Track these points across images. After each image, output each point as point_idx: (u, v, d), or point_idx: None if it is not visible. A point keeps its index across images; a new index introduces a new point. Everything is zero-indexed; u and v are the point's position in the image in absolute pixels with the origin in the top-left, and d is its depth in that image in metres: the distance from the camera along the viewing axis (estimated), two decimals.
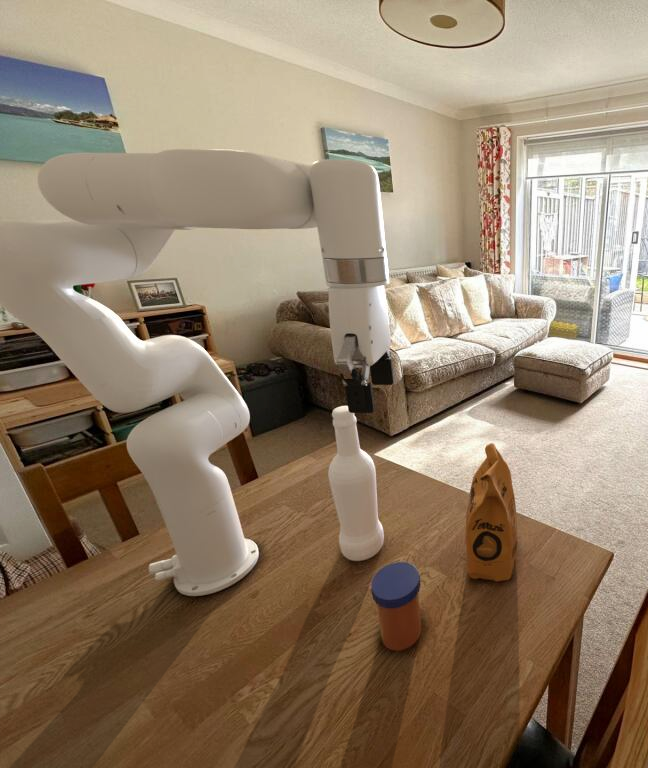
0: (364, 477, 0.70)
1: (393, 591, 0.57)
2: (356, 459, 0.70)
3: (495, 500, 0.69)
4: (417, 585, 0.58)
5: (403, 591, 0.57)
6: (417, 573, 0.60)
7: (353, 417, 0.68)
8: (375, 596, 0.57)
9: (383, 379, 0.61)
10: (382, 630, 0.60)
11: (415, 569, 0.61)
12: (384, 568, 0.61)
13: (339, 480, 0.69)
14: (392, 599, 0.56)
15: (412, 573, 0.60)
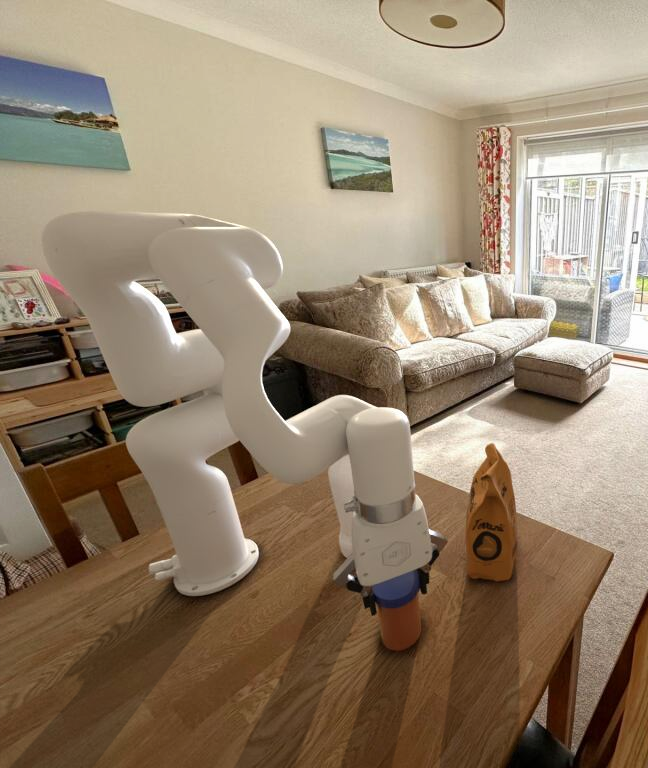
0: None
1: (393, 591, 0.57)
2: None
3: (495, 500, 0.69)
4: (417, 585, 0.58)
5: (403, 591, 0.57)
6: (417, 573, 0.60)
7: None
8: (375, 596, 0.57)
9: None
10: (382, 630, 0.60)
11: (415, 569, 0.61)
12: None
13: (339, 479, 0.69)
14: (392, 599, 0.56)
15: (412, 573, 0.60)
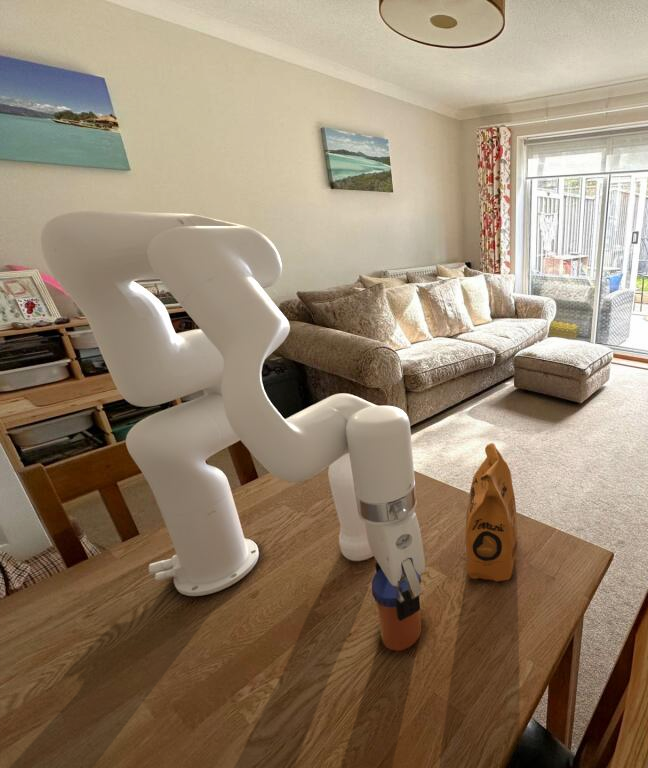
0: None
1: None
2: None
3: (495, 500, 0.69)
4: None
5: None
6: None
7: None
8: None
9: None
10: (382, 630, 0.60)
11: None
12: (379, 593, 0.56)
13: (339, 479, 0.69)
14: None
15: None
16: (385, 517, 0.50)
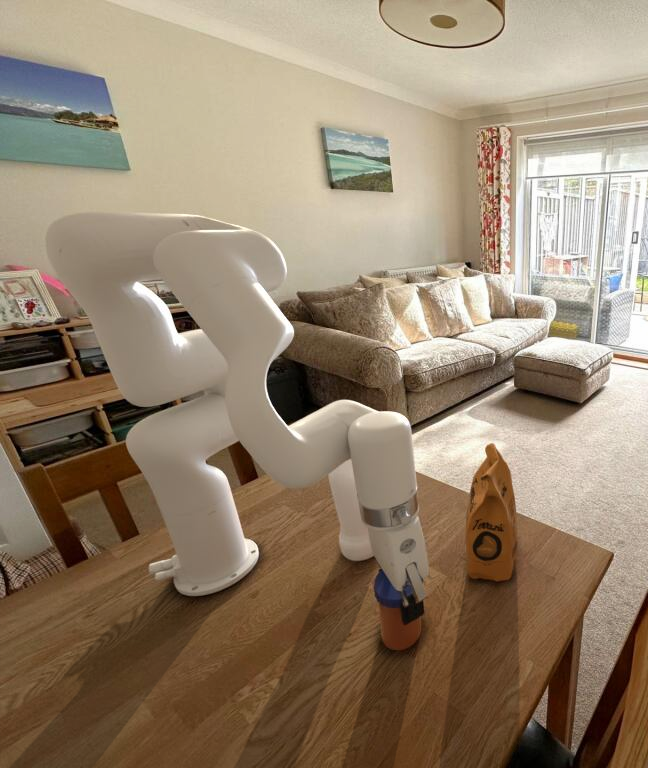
0: None
1: None
2: None
3: (495, 500, 0.69)
4: None
5: None
6: None
7: None
8: None
9: None
10: (383, 630, 0.59)
11: None
12: (382, 594, 0.56)
13: (339, 479, 0.69)
14: None
15: None
16: (388, 522, 0.50)
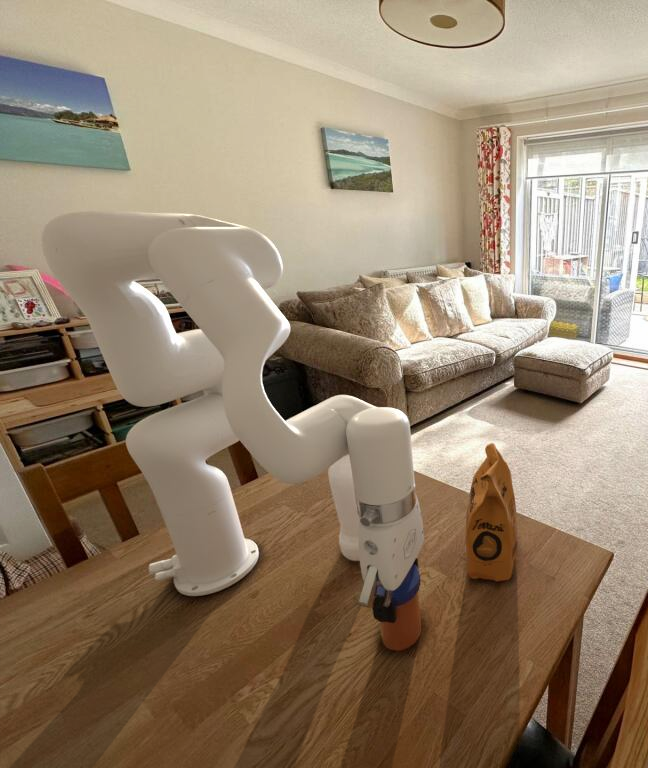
0: None
1: None
2: None
3: (495, 500, 0.69)
4: None
5: None
6: None
7: None
8: None
9: None
10: (382, 630, 0.60)
11: None
12: (395, 595, 0.56)
13: (339, 479, 0.69)
14: None
15: None
16: (362, 515, 0.51)
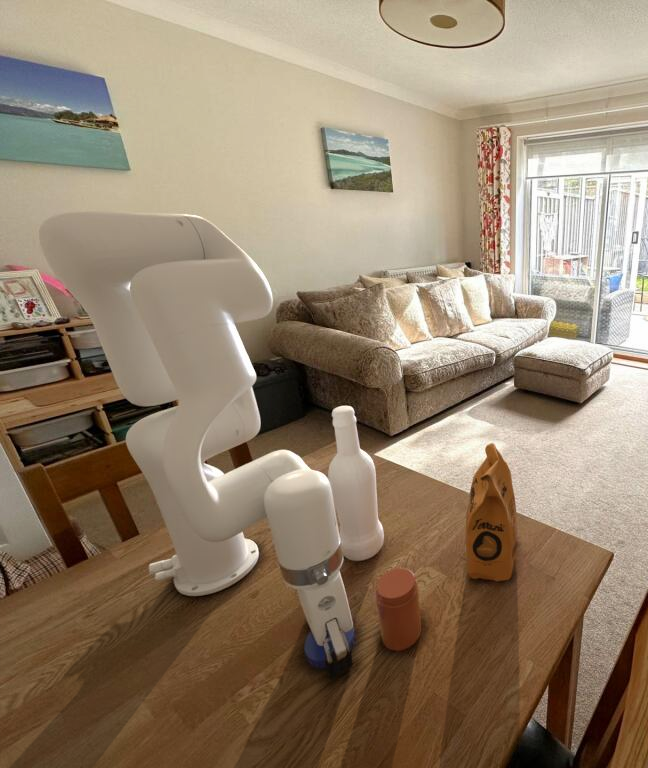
0: (364, 476, 0.70)
1: None
2: (356, 459, 0.70)
3: (495, 500, 0.69)
4: None
5: None
6: (306, 651, 0.58)
7: (353, 417, 0.68)
8: None
9: None
10: (382, 630, 0.60)
11: (309, 655, 0.57)
12: None
13: (339, 479, 0.69)
14: None
15: (312, 650, 0.58)
16: (306, 581, 0.51)
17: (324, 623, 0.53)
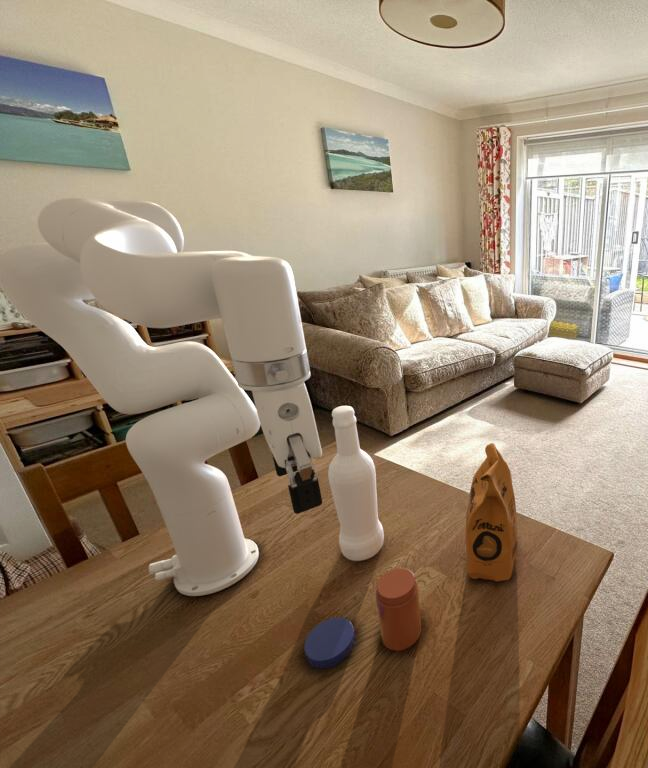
0: (364, 476, 0.70)
1: (328, 626, 0.62)
2: (356, 459, 0.70)
3: (495, 500, 0.69)
4: None
5: (318, 629, 0.61)
6: (306, 651, 0.58)
7: (353, 417, 0.68)
8: None
9: None
10: (382, 630, 0.60)
11: (309, 655, 0.57)
12: (345, 646, 0.59)
13: (339, 479, 0.69)
14: (327, 620, 0.63)
15: (312, 650, 0.58)
16: (263, 380, 0.44)
17: (286, 437, 0.45)
